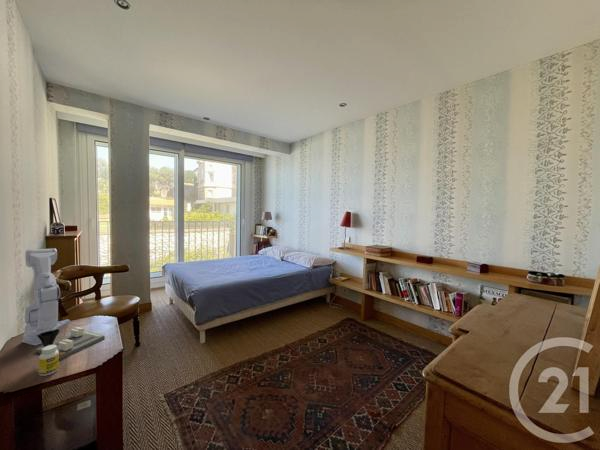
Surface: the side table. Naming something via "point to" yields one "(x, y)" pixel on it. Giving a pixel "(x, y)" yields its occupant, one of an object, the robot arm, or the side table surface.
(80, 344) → the panel
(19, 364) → the side table surface
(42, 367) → the supplement bottle
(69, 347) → the block
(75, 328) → the cream slider knob
